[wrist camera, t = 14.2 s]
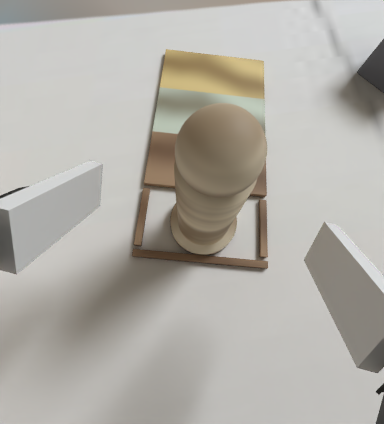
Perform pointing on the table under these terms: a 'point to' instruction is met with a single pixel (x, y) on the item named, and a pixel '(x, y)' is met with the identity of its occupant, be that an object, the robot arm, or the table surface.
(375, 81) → the die
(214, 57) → the board
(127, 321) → the table surface
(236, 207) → the pawn
